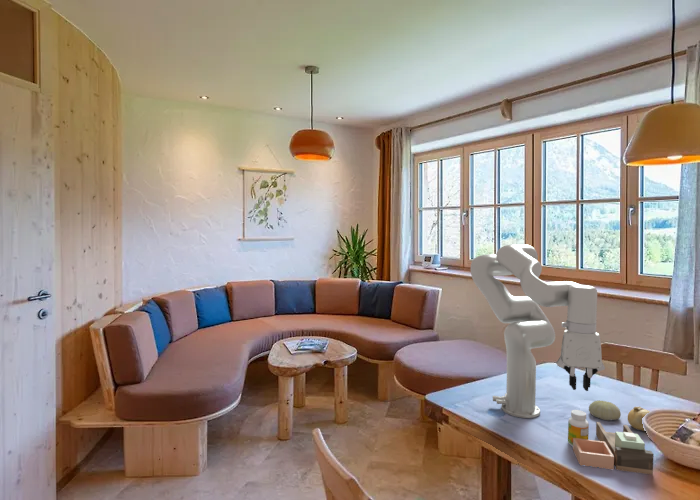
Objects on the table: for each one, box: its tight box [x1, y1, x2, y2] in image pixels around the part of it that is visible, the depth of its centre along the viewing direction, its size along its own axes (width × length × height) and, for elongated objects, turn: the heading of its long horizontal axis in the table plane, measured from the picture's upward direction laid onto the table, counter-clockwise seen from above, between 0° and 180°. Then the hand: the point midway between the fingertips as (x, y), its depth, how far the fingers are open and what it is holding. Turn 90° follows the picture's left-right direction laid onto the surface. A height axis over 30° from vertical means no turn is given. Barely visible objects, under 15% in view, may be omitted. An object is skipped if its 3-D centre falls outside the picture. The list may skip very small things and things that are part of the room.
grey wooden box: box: [595, 421, 654, 476], centre depth 123 cm, size 20×8×6 cm, turn 164°
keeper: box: [614, 431, 646, 450], centre depth 118 cm, size 5×5×7 cm
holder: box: [572, 438, 615, 471], centre depth 120 cm, size 8×8×4 cm
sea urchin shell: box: [588, 399, 621, 421], centre depth 147 cm, size 9×8×8 cm
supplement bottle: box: [567, 409, 590, 447], centre depth 128 cm, size 5×5×10 cm
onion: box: [627, 406, 651, 432], centre depth 137 cm, size 8×8×7 cm
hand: (579, 388), depth 127 cm, fingers open, 2 cm apart
